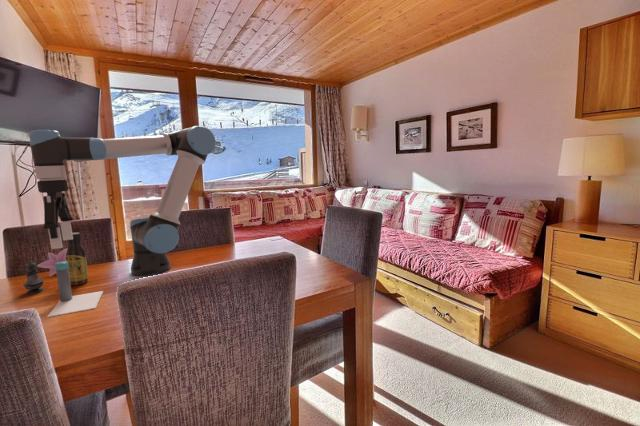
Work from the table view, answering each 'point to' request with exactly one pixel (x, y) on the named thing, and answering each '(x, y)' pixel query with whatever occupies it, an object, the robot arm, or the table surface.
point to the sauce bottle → (76, 261)
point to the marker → (63, 281)
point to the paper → (77, 304)
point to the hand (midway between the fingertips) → (63, 243)
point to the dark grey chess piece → (33, 279)
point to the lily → (53, 261)
